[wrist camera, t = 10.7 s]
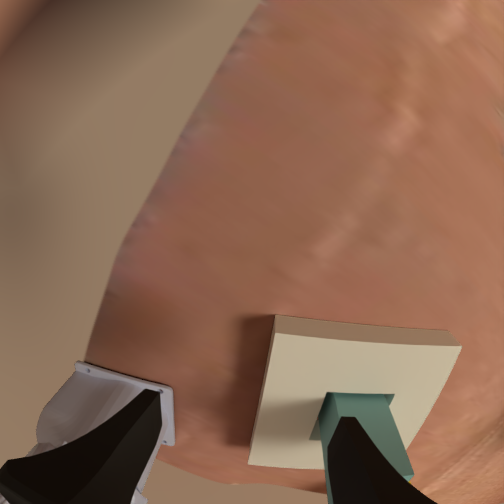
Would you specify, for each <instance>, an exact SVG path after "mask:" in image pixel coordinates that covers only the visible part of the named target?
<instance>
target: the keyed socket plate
mask: <svg viewBox="0 0 504 504" xmlns="http://www.w3.org/2000/svg"><path fill="white" fill-rule="evenodd" d="M461 348H462V345H461V344H460V343H459V342H458V341H457V340H456V338H455V337H454V336H453V335H452V334H451V333H450V332H449V331H448V330H430V329H414V328H400V327H387V326H375V325H364V324H353V323H343V322H334V321H325V320H316V319H307V318H299V317H291V316H283V315H276V314H275V319H274V325H273V330H272V336H271V341H270V347H269V352H268V357H267V363H266V368H265V373H264V378H263V383H262V388H261V393H260V398H259V403H258V408H257V413H256V418H255V423H254V427H253V432H252V437H251V442H250V448H249V457H248V464H250V465H259V466H269V467H282V468H298V469H324V460H323V452H322V444H321V436H320V428H319V420H317V417H318V414H319V412H320V409H321V406H322V404H323V401H324V398H325V395H326V392H338V393H364V394H384V396H385V398H386V401H387V403H388V406H389V408H390V411H391V413H392V416H393V418H394V421H395V423H396V426H397V429H398V431H399V434H400V436H401V439H402V442H403V444H404V447H405V450H406V449H407V448H408V446H409V445H410V443H411V442H412V440H413V438H414V437H415V435H416V434H417V432H418V431H419V429H420V427H421V426H422V424H423V422H424V421H425V419H426V417H427V416H428V414H429V412H430V410H431V409H432V407H433V405H434V403H435V401H436V400H437V398H438V396H439V394H440V392H441V390H442V388H443V386H444V384H445V383H446V381H447V379H448V376H449V374H450V372H451V370H452V368H453V366H454V364H455V362H456V360H457V357H458V355H459V353H460V351H461Z"/></svg>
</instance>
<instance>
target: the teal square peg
mask: <svg viewBox="0 0 504 504" xmlns="http://www.w3.org/2000/svg"><path fill="white" fill-rule="evenodd" d="M341 416H346V417H356V418H357V420H358V421H359V423H360V424H361V425H362V427H363V428H364V430H365V431H366V433H367V434H368V435H369V437H370V438H371V440H372V441H373V442H374V444H375V445H376V446H377V448H378V449H379V450H380V452H381V453H382V454H383V455H384V457H385V458H386V459H387V460H388V462H389V463H390V464H391V465H392V466H393V467H394V468H395V469H396V471H397V472H398V473H399V474H400V475H401V476H402V477H404V478H405V479H406V480H407V481H408V482H409V481H410V479H411V478H412V477H413V476H414V472H413V469H412V466H411V464H410V461H409V458H408V455H407V453H406V450H405V447H404V444H403V442H402V439H401V436H400V434H399V431H398V429H397V426H396V423H395V421H394V418H393V416H392V413H391V411H390V408H389V406H388V403H387V401H386V398H385V396H384V394H364V393H338V392H326V395H325V398H324V401H323V404H322V406H321V409H320V412H319V414H318V420H319V428H320V436H321V444H322V452H323V460H324V469H325V478H326V487H327V496H328V504H333V499H332V493H331V486H330V480H329V474H328V463H327V446H328V444H329V442H330V440H331V438H332V436H333V434H334V431H335V429H336V427H337V425H338V422H339V420H340V418H341Z"/></svg>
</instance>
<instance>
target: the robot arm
mask: <svg viewBox="0 0 504 504" xmlns="http://www.w3.org/2000/svg"><path fill="white" fill-rule="evenodd" d="M75 369H76V371H75V372H74V373H73V375H72V376H71V377H70V378H69V379H68V380H67V381H66V383H65V384H64V385H63V386H62V387H61V388H60V389H59V391H58V392H57V393H56V394H55V395H54V396H53V398H52V399H51V400H50V401H49V402H48V403H47V405H46V406H45V407H44V409H43V411H42V412H41V415H40V417H39V420H38V424H37V429H36V435H37V442H38V444H36V445H35V446H34V447H33V448H32V450H31V451H30V452H29V453H28V454H27V455H26V456H25V457H23V458H17V459H11V460H8V461H7V462H6V463H5V464H4V465H3V466H2V467H1V469H0V504H147V502H148V499H146V498H145V497H143V496H142V495H141V493H142V491H143V488H144V485H145V483H146V480H147V478H148V475H149V473H150V470H151V468H152V465H153V463H154V460H155V457H156V455H157V452H158V450H159V447H160V445H161V444H165V445H169V446H173V445H174V444H175V429H174V404H173V390H172V388H170V387H169V386H165V385H161V384H157V383H153V382H149V381H145V380H141V379H137V378H134V377H130V376H126V375H123V374H119V373H116V372H113V371H109V370H106V369H103V368H100V367H96V366H93V365H90V364H87V363H84V362H81V361H77V362H76V363H75ZM160 389H161V390H162V391H161V390H160ZM327 463H328V474H329V480H330V486H331V493H332V499H333V504H437V503H436V502H434V501H433V500H431V499H430V498H428V497H427V496H425V495H424V494H423V493H421V492H420V491H419V490H417V489H416V488H415V487H414V486H412V485H411V484H410V483H409V482H408V481H407V480H406V479H405V478H404V477H402V476H401V475H400V474H399V473H398V472H397V471H396V469H395V468H394V467H393V466H392V465H391V464H390V463H389V462H388V460H387V459H386V458H385V457H384V455H383V454H382V453H381V452H380V450H379V449H378V448H377V446H376V445H375V444H374V442H373V441H372V440H371V438H370V437H369V435H368V434H367V433H366V431H365V430H364V428H363V427H362V425H361V424H360V423H359V421H358V420H357V418H356V417H346V416H341V418H340V420H339V422H338V425H337V427H336V429H335V431H334V434H333V436H332V438H331V440H330V442H329V444H328V446H327Z"/></svg>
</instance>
